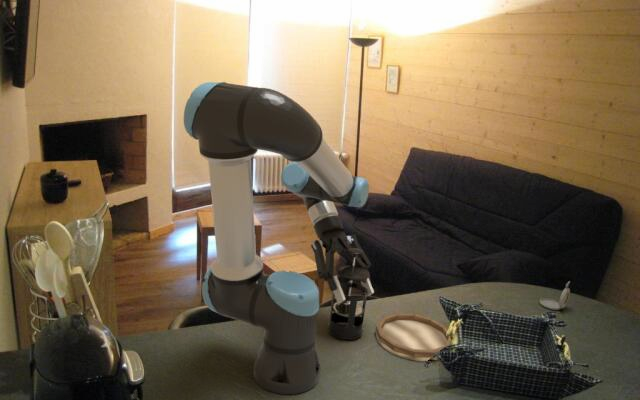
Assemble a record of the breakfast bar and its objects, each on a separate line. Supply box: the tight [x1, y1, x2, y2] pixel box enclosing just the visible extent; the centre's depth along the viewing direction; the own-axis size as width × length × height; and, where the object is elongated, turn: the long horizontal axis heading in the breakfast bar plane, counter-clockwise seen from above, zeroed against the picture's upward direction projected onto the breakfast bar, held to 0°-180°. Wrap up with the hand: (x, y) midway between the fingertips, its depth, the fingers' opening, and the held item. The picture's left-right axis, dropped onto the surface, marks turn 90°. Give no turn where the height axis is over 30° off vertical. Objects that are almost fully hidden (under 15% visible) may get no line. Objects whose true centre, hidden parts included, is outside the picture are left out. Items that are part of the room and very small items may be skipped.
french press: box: [327, 248, 371, 340], centre depth 138 cm, size 12×9×23 cm
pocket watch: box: [539, 280, 571, 311], centre depth 166 cm, size 8×8×10 cm
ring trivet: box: [375, 312, 451, 362], centre depth 140 cm, size 20×20×2 cm
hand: (356, 297), depth 136 cm, fingers closed on french press, 9 cm apart
